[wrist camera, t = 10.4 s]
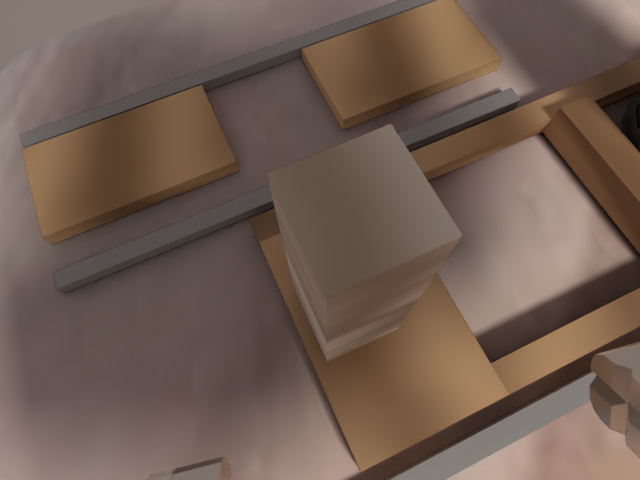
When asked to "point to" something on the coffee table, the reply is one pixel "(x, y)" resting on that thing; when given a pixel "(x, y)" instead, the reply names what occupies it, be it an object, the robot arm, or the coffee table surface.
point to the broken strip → (206, 133)
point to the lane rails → (421, 476)
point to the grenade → (632, 123)
